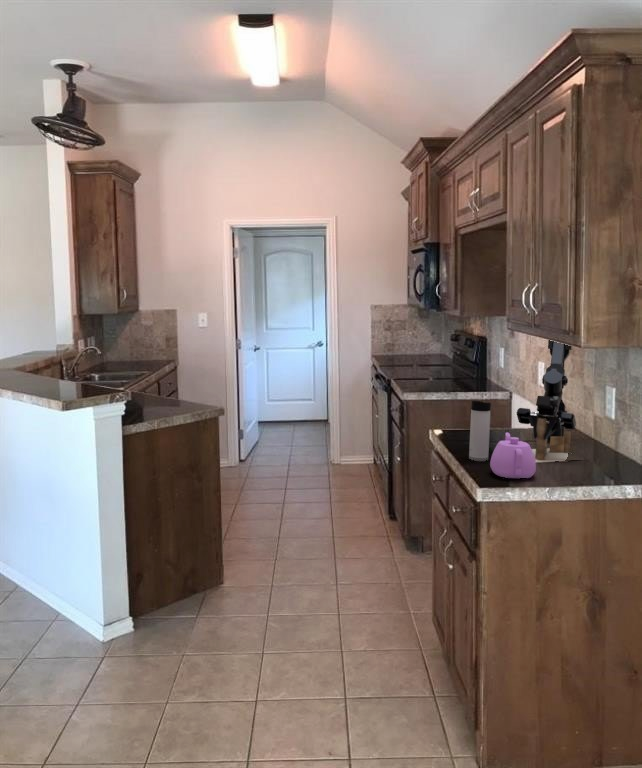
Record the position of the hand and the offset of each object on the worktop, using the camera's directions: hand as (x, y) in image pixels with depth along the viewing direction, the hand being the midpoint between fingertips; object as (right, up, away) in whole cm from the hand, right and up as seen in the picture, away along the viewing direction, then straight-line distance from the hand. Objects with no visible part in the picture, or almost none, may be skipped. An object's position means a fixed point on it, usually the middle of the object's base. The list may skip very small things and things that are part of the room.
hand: (539, 438), depth 237 cm
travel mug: (-20, -7, +2) cm, 21 cm away
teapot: (-14, -10, -17) cm, 24 cm away
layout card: (+4, -6, +9) cm, 12 cm away
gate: (+3, -6, +7) cm, 10 cm away
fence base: (+10, -6, +13) cm, 18 cm away
